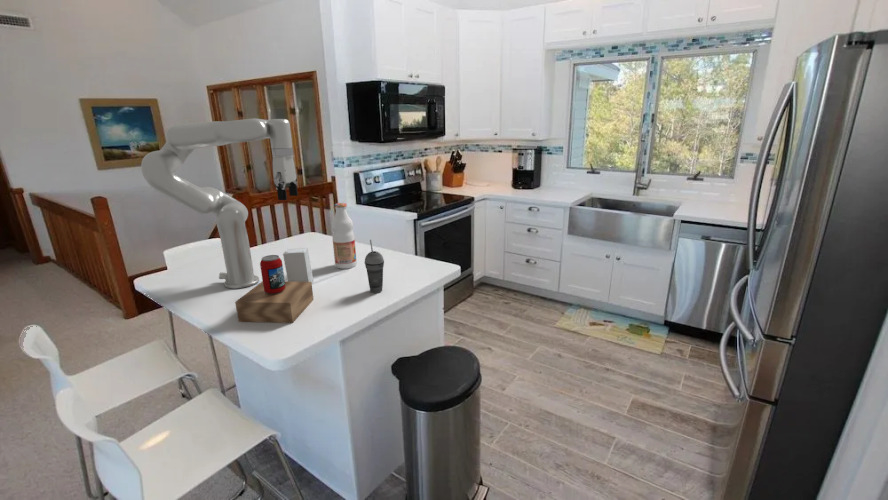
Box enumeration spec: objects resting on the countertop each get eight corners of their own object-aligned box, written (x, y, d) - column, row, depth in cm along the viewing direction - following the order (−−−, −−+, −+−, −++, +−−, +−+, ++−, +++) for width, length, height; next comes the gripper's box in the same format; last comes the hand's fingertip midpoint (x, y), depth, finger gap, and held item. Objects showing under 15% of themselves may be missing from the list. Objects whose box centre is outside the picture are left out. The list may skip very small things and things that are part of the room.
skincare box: (313, 282, 165) (309, 247, 160) (309, 288, 159) (305, 251, 154) (292, 283, 164) (287, 247, 160) (287, 289, 159) (282, 252, 154)
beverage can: (278, 295, 135) (273, 261, 131) (260, 294, 136) (254, 260, 133) (289, 288, 141) (285, 254, 138) (272, 286, 142) (267, 253, 139)
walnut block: (238, 321, 133) (235, 301, 131) (265, 299, 150) (262, 281, 148) (292, 322, 131) (290, 302, 129) (313, 299, 149) (311, 281, 146)
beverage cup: (377, 296, 151) (373, 244, 145) (362, 292, 155) (358, 241, 149) (389, 289, 157) (387, 239, 151) (375, 285, 161) (372, 236, 155)
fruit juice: (331, 265, 184) (325, 204, 176) (349, 260, 190) (344, 201, 182) (342, 270, 177) (336, 207, 169) (360, 265, 184) (356, 203, 175)
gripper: (283, 151, 165) (289, 194, 170) (261, 154, 148) (268, 201, 153) (301, 151, 164) (306, 194, 169) (281, 154, 148) (287, 201, 153)
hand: (288, 197), depth 161 cm, fingers open, 9 cm apart
